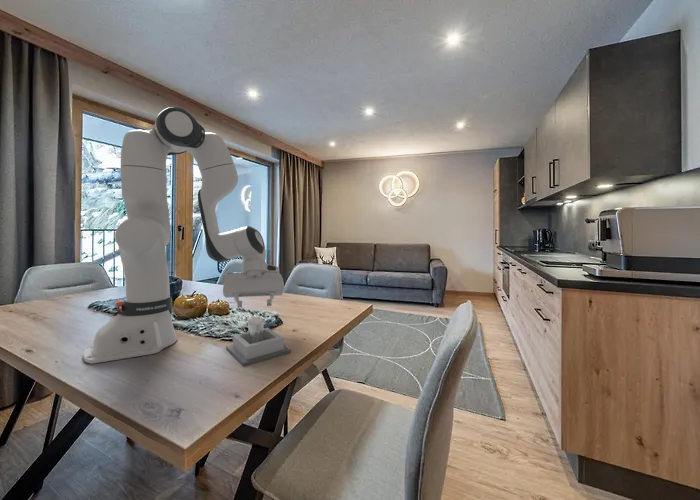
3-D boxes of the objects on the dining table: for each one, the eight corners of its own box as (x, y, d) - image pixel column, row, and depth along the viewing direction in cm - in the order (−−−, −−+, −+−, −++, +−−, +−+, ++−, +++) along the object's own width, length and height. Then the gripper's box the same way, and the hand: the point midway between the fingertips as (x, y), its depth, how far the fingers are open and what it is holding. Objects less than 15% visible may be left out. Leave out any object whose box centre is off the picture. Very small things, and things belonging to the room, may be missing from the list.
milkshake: (261, 352, 84) (261, 318, 83) (244, 350, 85) (244, 316, 85) (269, 346, 89) (269, 313, 88) (253, 344, 90) (253, 312, 89)
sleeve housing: (243, 366, 77) (242, 350, 77) (226, 348, 88) (225, 334, 88) (290, 352, 86) (290, 338, 86) (270, 338, 97) (270, 325, 97)
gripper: (222, 267, 101) (220, 302, 93) (283, 267, 108) (286, 299, 100) (223, 278, 106) (221, 312, 97) (281, 277, 113) (284, 308, 104)
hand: (254, 305), depth 98 cm, fingers open, 8 cm apart
